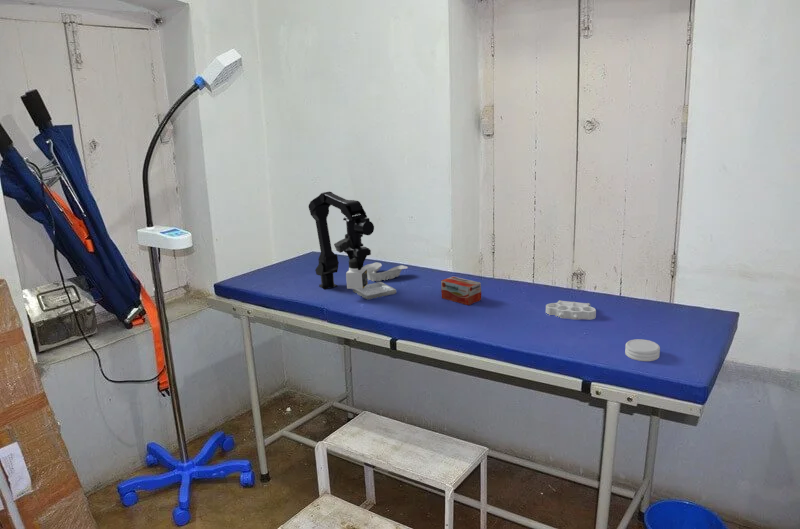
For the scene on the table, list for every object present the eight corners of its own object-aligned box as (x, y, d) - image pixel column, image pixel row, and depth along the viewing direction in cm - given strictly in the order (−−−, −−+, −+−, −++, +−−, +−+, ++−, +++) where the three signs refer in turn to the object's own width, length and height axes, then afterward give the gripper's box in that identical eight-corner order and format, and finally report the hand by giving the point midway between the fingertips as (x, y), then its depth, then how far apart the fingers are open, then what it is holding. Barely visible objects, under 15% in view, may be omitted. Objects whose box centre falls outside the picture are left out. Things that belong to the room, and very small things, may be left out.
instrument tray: (353, 291, 259) (352, 287, 258) (381, 285, 265) (381, 281, 265) (367, 299, 247) (366, 295, 247) (396, 293, 254) (396, 289, 253)
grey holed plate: (598, 310, 223) (593, 324, 211) (550, 305, 231) (542, 318, 218) (599, 302, 223) (593, 315, 210) (551, 297, 230) (542, 309, 218)
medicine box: (481, 300, 240) (481, 282, 237) (469, 306, 234) (468, 287, 232) (453, 293, 250) (452, 275, 248) (440, 298, 245) (439, 280, 243)
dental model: (350, 279, 278) (349, 269, 277) (372, 269, 292) (372, 260, 290) (389, 285, 265) (389, 275, 264) (411, 275, 279) (410, 265, 277)
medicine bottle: (363, 289, 245) (361, 261, 242) (346, 288, 247) (344, 261, 244) (367, 284, 252) (366, 257, 249) (351, 283, 254) (350, 256, 251)
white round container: (652, 365, 177) (653, 354, 176) (619, 356, 183) (620, 346, 183) (664, 353, 184) (664, 343, 183) (632, 346, 191) (632, 336, 190)
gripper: (327, 230, 248) (330, 266, 252) (344, 238, 232) (347, 276, 236) (351, 227, 253) (354, 262, 257) (370, 234, 237) (372, 272, 241)
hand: (356, 268), depth 247 cm, fingers closed on medicine bottle, 6 cm apart
